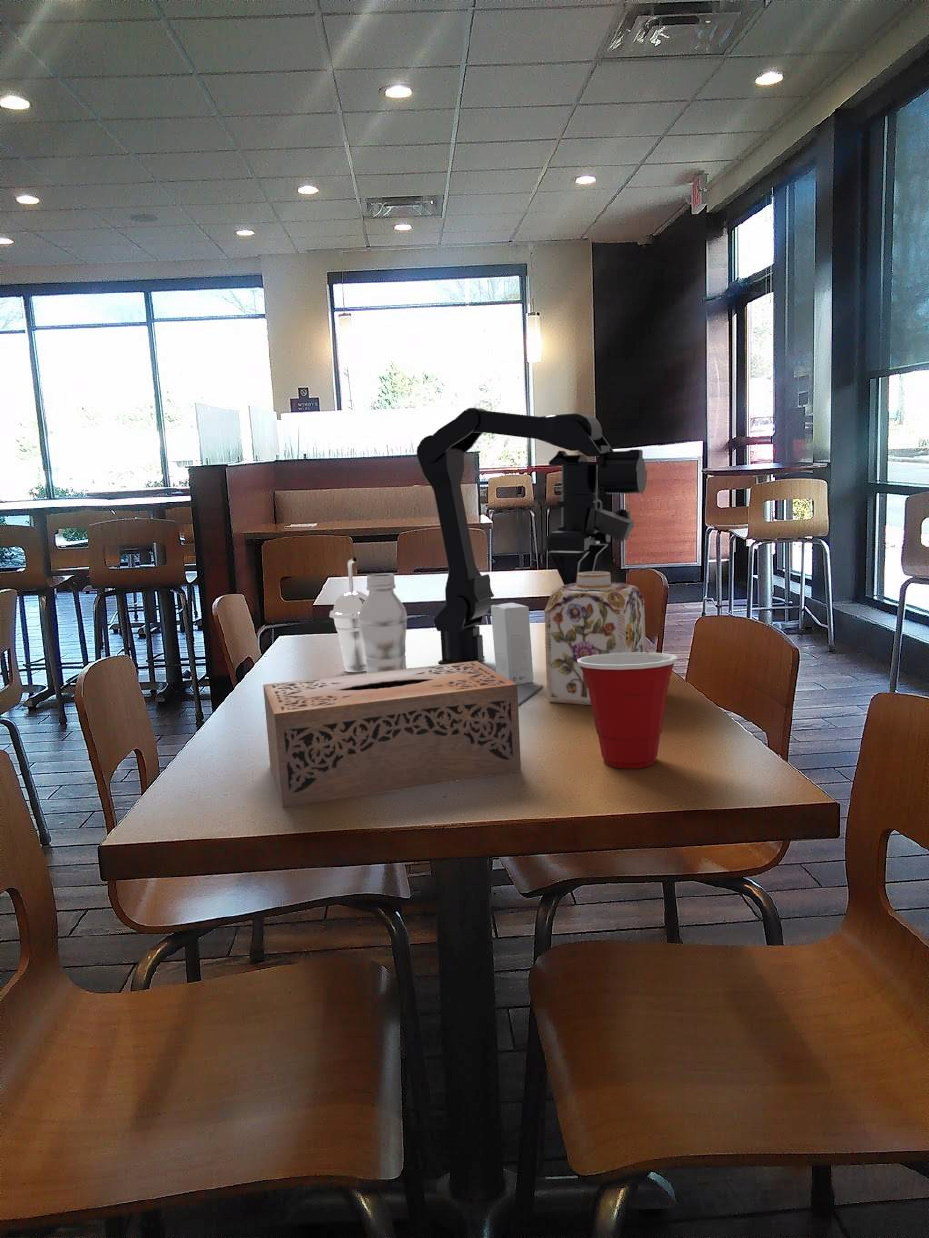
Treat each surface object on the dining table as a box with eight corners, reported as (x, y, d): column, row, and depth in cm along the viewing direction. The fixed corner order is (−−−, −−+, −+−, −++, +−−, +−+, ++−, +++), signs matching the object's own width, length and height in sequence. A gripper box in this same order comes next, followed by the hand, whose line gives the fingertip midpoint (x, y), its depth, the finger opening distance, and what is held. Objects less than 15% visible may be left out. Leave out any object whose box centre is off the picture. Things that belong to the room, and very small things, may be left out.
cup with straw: (387, 664, 159) (380, 552, 156) (373, 675, 150) (365, 557, 147) (342, 664, 160) (333, 554, 157) (325, 675, 151) (316, 559, 148)
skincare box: (534, 682, 138) (531, 605, 137) (508, 686, 137) (504, 608, 135) (519, 675, 144) (515, 601, 142) (493, 678, 143) (489, 604, 141)
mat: (433, 706, 127) (433, 704, 127) (470, 683, 140) (470, 682, 140) (512, 710, 122) (512, 708, 122) (543, 687, 135) (543, 685, 135)
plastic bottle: (421, 717, 121) (413, 571, 118) (402, 731, 115) (392, 578, 112) (378, 715, 123) (369, 572, 120) (357, 729, 117) (346, 578, 114)
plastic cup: (661, 742, 104) (660, 642, 103) (692, 772, 94) (691, 661, 92) (570, 749, 104) (567, 648, 102) (591, 780, 93) (588, 668, 91)
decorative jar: (545, 703, 126) (540, 576, 123) (571, 684, 136) (567, 567, 133) (628, 708, 120) (624, 576, 118) (649, 688, 131) (646, 567, 128)
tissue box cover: (480, 739, 111) (476, 660, 109) (521, 773, 97) (517, 684, 96) (270, 768, 103) (263, 684, 102) (282, 809, 90) (274, 713, 88)
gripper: (616, 496, 131) (615, 600, 133) (641, 491, 148) (639, 584, 150) (543, 496, 135) (544, 597, 138) (576, 492, 152) (575, 582, 155)
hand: (579, 590), depth 145 cm, fingers open, 9 cm apart
